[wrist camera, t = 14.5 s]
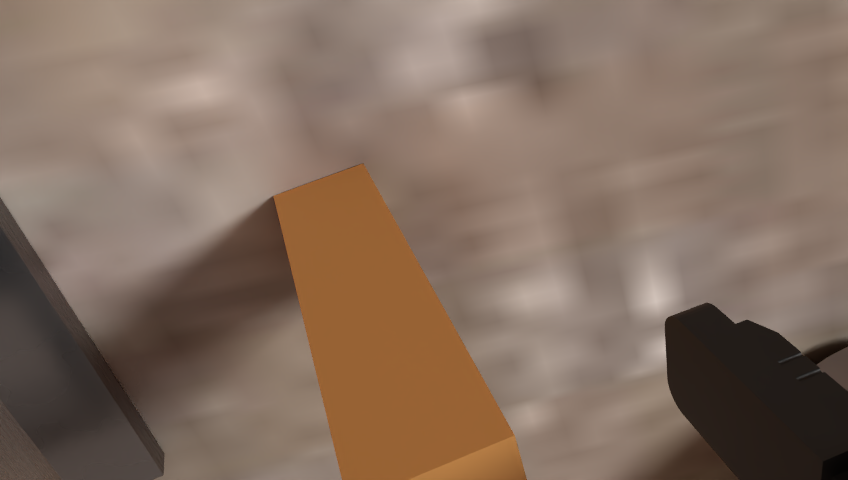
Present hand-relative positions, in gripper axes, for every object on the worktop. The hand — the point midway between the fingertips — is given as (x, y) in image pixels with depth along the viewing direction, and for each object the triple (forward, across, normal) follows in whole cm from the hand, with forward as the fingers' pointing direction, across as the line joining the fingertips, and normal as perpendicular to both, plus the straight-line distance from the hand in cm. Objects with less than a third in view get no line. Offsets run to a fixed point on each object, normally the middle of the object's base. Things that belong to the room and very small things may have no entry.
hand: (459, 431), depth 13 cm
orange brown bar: (+11, +1, +1) cm, 11 cm away
